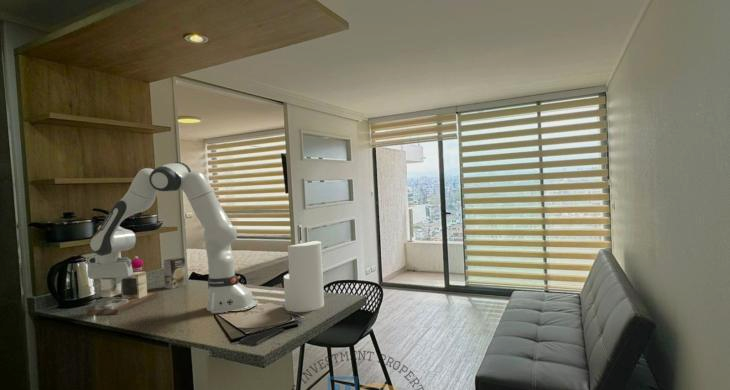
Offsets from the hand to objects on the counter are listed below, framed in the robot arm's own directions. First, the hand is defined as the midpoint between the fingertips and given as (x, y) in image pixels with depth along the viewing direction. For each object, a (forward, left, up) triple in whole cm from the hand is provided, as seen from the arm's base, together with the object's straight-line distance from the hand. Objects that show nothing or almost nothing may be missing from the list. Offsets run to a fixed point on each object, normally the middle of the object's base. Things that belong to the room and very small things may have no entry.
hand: (111, 287), depth 177 cm
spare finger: (0, 0, -4) cm, 4 cm away
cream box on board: (0, -8, -11) cm, 13 cm away
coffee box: (-4, -43, -11) cm, 45 cm away
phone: (-85, +34, -11) cm, 92 cm away
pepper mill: (+11, -32, -11) cm, 36 cm away
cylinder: (-91, -2, -11) cm, 92 cm away
